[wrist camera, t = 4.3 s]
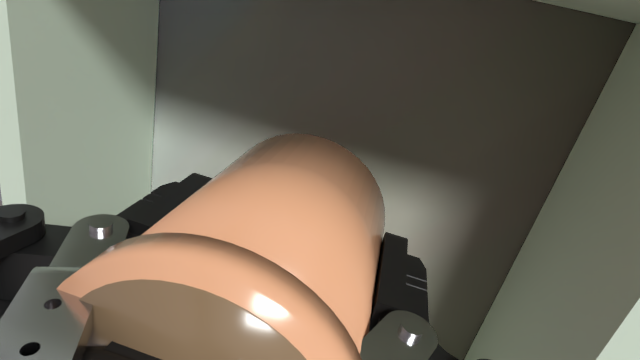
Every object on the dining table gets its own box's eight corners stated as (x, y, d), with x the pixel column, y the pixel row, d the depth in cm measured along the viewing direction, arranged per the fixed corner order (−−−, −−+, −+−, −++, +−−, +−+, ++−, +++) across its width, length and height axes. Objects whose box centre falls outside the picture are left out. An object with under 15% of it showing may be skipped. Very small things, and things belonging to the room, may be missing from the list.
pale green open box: (141, -118, 15) (-172, -282, 7) (684, -2, 13) (1147, -48, 5) (131, 282, 23) (-22, 421, 15) (464, 400, 21) (496, 639, 13)
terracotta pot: (233, 106, 13) (19, 208, 6) (415, 158, 13) (416, 343, 5) (214, 255, 16) (49, 449, 9) (363, 305, 15) (318, 561, 8)
